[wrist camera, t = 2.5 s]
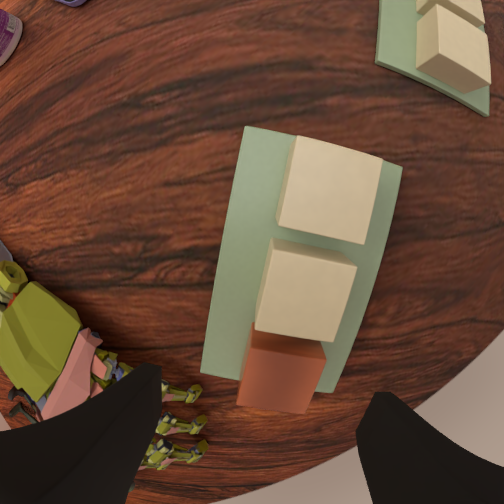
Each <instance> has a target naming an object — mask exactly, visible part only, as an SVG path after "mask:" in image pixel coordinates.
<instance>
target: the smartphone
mask: <svg viewBox="0 0 504 504" xmlns="http://www.w3.org/2000/svg"><path fill="white" fill-rule="evenodd" d="M55 1H58V2H60V3H63V4H66V5H68V6H71V7H76V6H79V5H81V4H82V3H84V2H85V1H86V0H55Z"/></svg>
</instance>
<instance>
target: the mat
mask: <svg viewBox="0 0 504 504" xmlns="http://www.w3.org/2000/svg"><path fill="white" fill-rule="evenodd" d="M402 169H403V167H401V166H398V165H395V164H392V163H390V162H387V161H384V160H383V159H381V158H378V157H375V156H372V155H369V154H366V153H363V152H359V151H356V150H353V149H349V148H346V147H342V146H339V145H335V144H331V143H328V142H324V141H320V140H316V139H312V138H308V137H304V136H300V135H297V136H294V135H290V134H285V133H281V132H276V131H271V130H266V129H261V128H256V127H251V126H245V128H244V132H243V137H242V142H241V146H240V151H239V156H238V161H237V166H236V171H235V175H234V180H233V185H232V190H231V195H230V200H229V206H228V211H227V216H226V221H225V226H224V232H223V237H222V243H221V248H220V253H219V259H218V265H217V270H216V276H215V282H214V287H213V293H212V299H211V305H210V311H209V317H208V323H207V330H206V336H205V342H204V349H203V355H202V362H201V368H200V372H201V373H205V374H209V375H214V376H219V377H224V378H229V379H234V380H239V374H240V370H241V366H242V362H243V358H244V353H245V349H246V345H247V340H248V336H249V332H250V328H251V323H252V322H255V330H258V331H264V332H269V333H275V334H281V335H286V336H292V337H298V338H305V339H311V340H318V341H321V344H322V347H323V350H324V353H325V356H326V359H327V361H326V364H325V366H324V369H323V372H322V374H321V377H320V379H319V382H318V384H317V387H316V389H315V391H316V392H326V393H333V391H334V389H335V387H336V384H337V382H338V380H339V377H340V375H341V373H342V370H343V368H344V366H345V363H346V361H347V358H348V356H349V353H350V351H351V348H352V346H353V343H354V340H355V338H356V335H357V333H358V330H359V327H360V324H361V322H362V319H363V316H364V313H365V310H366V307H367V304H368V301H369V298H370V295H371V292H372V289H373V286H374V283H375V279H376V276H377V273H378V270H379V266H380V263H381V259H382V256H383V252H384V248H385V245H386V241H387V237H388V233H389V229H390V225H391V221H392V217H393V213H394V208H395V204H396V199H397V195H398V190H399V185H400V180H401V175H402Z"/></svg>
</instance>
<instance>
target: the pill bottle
mask: <svg viewBox="0 0 504 504" xmlns="http://www.w3.org/2000/svg"><path fill="white" fill-rule="evenodd" d="M22 28H23V27H22V22H21V20H20V19H19V18H17V17H15V16H14V15H12V14H10V13H8V12H6V11H4V10H2V9H0V66H1V65H3V64H4V63H5V62H6V60H7V59H8V58H9V57H10V56H11V54H12V53H13V51H14V49H15V48H16V46H17V44H18V42H19V40H20V37H21V34H22Z"/></svg>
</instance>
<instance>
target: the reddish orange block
mask: <svg viewBox="0 0 504 504" xmlns="http://www.w3.org/2000/svg"><path fill="white" fill-rule="evenodd" d="M326 361H327V359H326V356H325V353H324V350H323V347H322V344H321V341H318V340H311V339H305V338H298V337H292V336H286V335H281V334H275V333H269V332H264V331H258V330H255V322H252V323H251V328H250V332H249V336H248V340H247V345H246V349H245V353H244V358H243V362H242V366H241V370H240V374H239V383H238V391H237V400H236V404H237V405H240V406H246V407H252V408H258V409H265V410H272V411H280V412H289V413H298V414H305V412H306V410H307V408H308V406H309V403H310V401H311V399H312V396H313V394H314V391H315V389H316V387H317V384H318V382H319V379H320V377H321V374H322V372H323V369H324V366H325V364H326Z"/></svg>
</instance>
